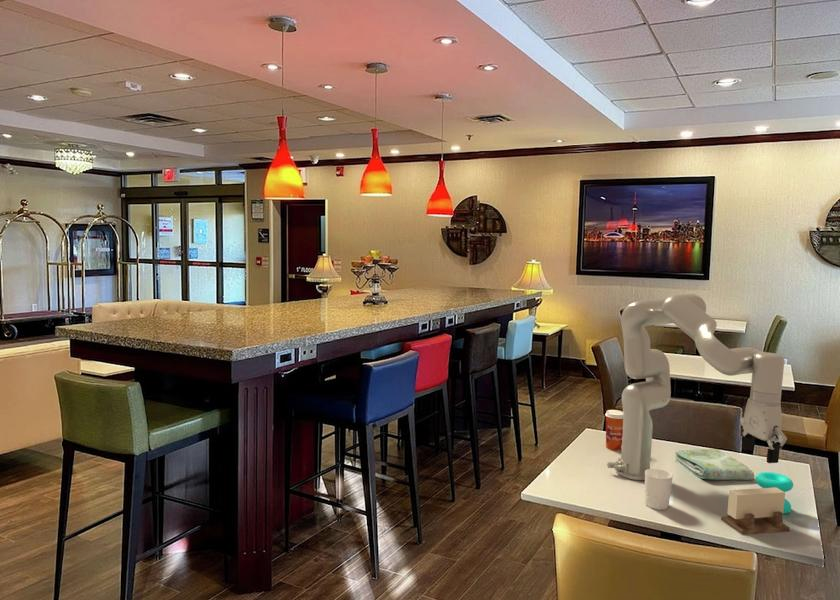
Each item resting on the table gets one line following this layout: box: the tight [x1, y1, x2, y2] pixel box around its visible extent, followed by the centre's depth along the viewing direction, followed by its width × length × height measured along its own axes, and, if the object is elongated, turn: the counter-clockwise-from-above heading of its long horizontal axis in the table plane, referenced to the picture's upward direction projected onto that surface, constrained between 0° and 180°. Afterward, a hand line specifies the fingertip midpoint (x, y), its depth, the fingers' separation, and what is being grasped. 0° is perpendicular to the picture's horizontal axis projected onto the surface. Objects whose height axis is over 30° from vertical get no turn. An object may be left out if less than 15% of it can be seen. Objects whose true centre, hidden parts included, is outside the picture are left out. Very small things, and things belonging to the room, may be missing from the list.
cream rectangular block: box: [727, 487, 786, 519], centre depth 179 cm, size 15×4×7 cm, turn 100°
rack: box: [720, 511, 791, 535], centre depth 180 cm, size 15×9×5 cm, turn 100°
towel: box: [675, 448, 755, 481], centre depth 221 cm, size 18×21×5 cm
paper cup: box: [605, 409, 623, 451], centre depth 241 cm, size 8×8×14 cm
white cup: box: [644, 468, 674, 511], centre depth 191 cm, size 8×8×10 cm
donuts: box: [754, 471, 794, 515], centre depth 191 cm, size 10×10×10 cm
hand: (759, 456), depth 178 cm, fingers open, 9 cm apart
